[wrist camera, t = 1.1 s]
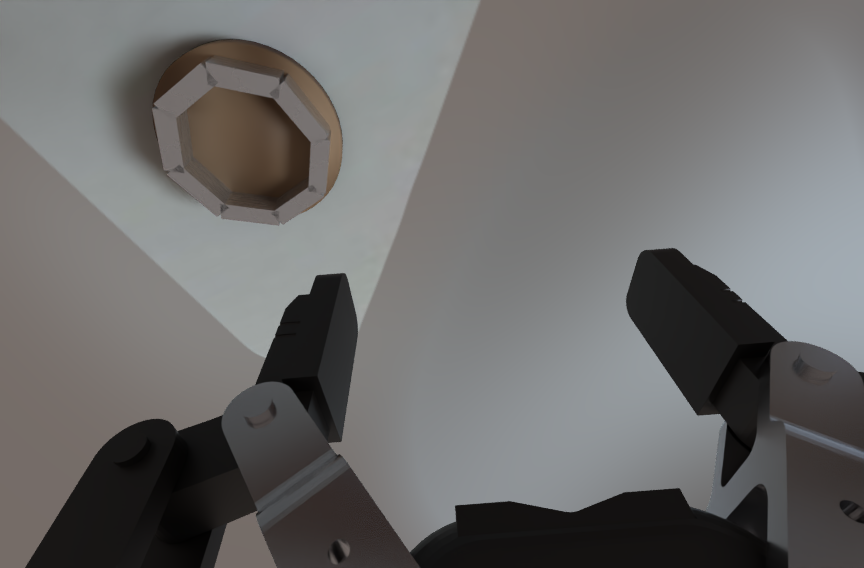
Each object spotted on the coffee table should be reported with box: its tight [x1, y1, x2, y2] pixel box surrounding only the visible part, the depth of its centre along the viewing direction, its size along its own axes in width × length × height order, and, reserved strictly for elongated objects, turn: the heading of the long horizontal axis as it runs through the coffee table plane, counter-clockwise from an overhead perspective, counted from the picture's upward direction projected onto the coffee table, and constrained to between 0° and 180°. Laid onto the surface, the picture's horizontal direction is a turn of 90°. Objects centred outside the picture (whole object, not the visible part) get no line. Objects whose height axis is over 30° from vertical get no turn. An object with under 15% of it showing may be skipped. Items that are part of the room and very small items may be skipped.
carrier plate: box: [152, 39, 343, 225], centre depth 27 cm, size 12×12×4 cm
